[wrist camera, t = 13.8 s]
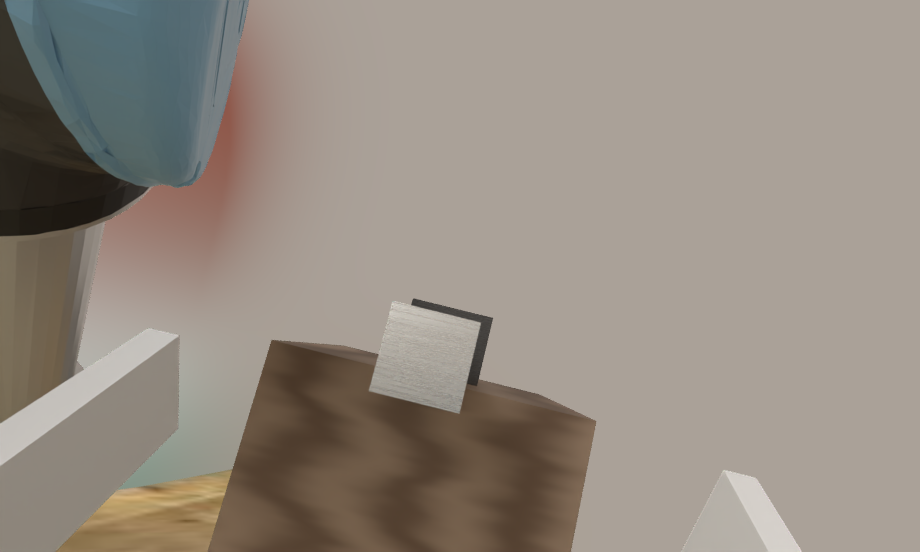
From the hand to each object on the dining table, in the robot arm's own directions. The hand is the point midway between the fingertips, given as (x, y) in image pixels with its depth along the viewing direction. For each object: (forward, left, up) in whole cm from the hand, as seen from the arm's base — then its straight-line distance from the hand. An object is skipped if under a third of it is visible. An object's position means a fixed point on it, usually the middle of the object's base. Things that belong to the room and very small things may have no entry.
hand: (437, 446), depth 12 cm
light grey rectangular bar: (-1, +17, 0) cm, 17 cm away
